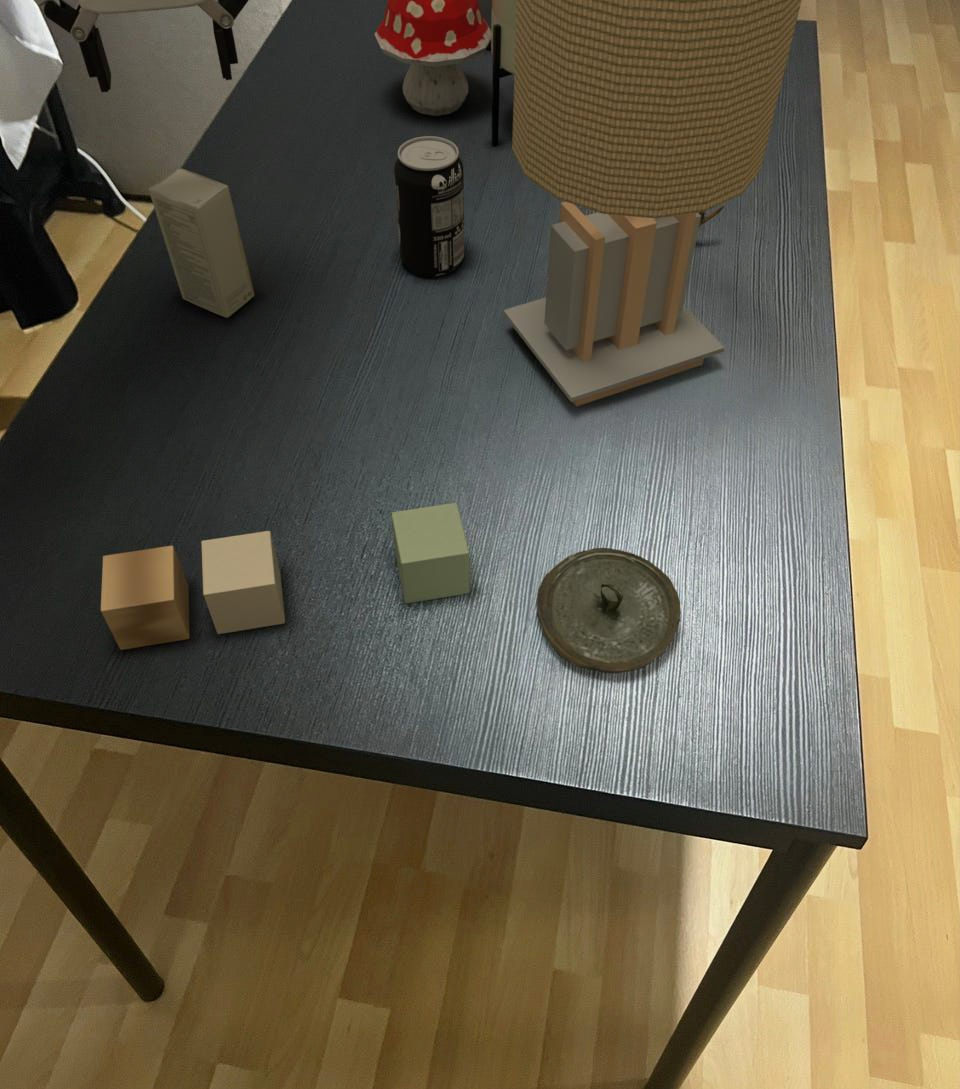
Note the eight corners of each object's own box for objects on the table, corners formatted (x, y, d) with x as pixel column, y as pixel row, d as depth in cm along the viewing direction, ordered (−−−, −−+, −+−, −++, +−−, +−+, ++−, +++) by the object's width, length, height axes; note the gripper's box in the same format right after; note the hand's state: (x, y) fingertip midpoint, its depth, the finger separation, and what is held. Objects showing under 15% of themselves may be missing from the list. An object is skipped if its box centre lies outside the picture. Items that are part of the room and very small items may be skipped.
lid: (658, 578, 79) (660, 527, 76) (697, 664, 71) (701, 610, 68) (527, 598, 78) (524, 547, 75) (552, 686, 70) (549, 634, 67)
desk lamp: (567, 446, 86) (610, 23, 59) (471, 316, 97) (470, -91, 70) (755, 382, 91) (875, -34, 64) (644, 265, 102) (706, -131, 75)
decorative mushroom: (358, 114, 122) (345, -17, 110) (417, 67, 129) (411, -61, 118) (456, 143, 117) (454, 10, 106) (511, 92, 125) (515, -37, 113)
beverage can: (403, 241, 105) (396, 132, 96) (465, 242, 105) (464, 134, 95) (398, 279, 101) (390, 170, 91) (462, 280, 101) (461, 171, 91)
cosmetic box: (256, 297, 99) (232, 185, 89) (226, 321, 96) (199, 209, 87) (208, 276, 101) (180, 165, 91) (177, 299, 99) (146, 187, 89)
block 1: (120, 650, 73) (100, 611, 69) (121, 596, 76) (102, 555, 72) (189, 639, 73) (174, 599, 69) (188, 585, 76) (173, 544, 72)
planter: (584, 178, 113) (605, -44, 95) (466, 139, 118) (464, -78, 100) (643, 120, 121) (672, -94, 103) (529, 86, 126) (539, -123, 108)
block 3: (405, 604, 75) (401, 563, 71) (395, 553, 78) (391, 511, 75) (469, 593, 76) (469, 552, 72) (457, 543, 79) (456, 502, 75)
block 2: (217, 634, 74) (203, 594, 70) (215, 581, 77) (201, 540, 73) (285, 623, 74) (275, 583, 70) (280, 571, 77) (270, 530, 73)
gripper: (232, -196, 71) (270, 47, 85) (-21, -181, 69) (60, 67, 82) (238, -162, 67) (277, 90, 80) (-33, -144, 64) (55, 112, 78)
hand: (167, 78), depth 81 cm, fingers open, 9 cm apart
